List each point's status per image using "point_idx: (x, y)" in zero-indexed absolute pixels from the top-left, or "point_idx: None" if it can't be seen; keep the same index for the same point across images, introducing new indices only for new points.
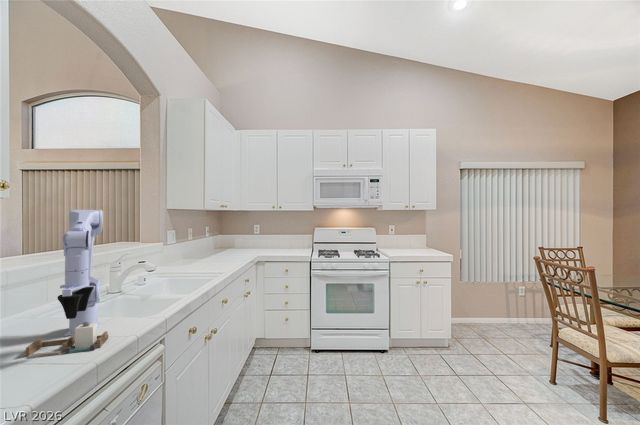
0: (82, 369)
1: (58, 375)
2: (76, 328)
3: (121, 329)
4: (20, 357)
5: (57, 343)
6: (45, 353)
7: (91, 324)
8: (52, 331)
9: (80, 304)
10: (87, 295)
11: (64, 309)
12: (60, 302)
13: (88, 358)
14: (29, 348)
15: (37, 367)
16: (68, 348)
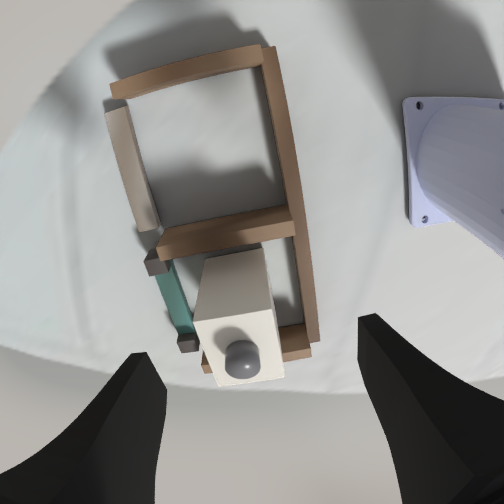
0: (61, 358)
1: (23, 319)
2: (196, 326)
3: (420, 319)
4: (133, 58)
5: (275, 136)
6: (127, 176)
7: (265, 364)
8: (477, 16)
9: (380, 381)
10: (399, 482)
11: (85, 414)
12: (24, 462)
13: (122, 346)
14: (116, 98)
15: (44, 222)
16: (148, 273)
